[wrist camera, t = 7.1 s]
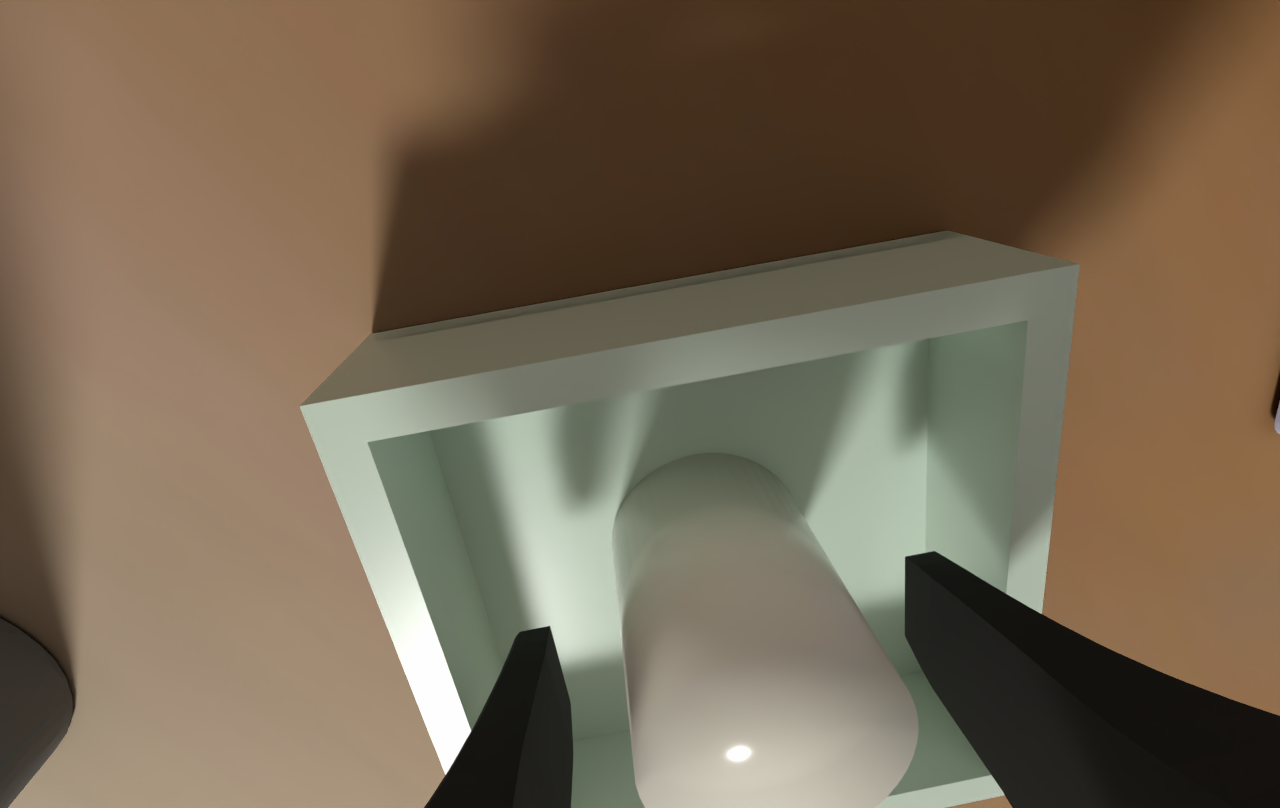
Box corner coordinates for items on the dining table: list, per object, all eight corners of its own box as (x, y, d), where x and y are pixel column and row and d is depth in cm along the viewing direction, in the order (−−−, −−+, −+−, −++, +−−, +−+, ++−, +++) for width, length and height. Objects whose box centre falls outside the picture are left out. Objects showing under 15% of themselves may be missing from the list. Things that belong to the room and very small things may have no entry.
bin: (947, 230, 14) (1079, 264, 11) (935, 665, 19) (1022, 791, 16) (370, 333, 14) (299, 405, 10) (509, 750, 19) (495, 901, 15)
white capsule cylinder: (792, 438, 15) (923, 618, 9) (800, 595, 17) (914, 824, 11) (596, 471, 15) (612, 675, 9) (626, 626, 16) (653, 875, 11)
